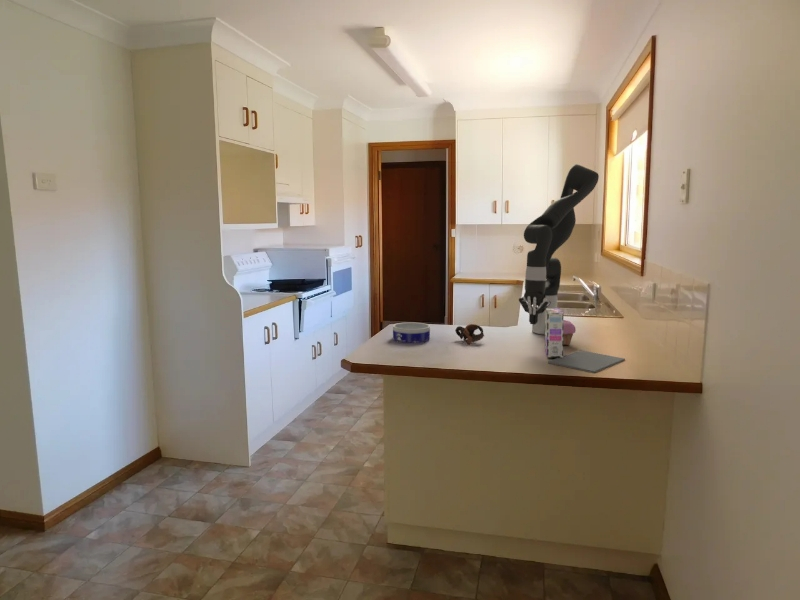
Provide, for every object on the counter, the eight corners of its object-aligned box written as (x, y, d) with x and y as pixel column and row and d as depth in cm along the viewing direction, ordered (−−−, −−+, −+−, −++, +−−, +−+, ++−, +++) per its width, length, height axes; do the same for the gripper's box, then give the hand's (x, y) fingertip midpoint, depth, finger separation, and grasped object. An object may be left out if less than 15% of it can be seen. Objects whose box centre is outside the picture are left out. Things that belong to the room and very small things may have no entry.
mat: (548, 363, 193) (548, 361, 192) (580, 351, 209) (580, 350, 209) (594, 372, 181) (594, 371, 181) (624, 360, 198) (624, 358, 198)
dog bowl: (386, 341, 224) (386, 326, 224) (403, 334, 238) (403, 320, 237) (419, 345, 217) (420, 330, 217) (435, 338, 231) (435, 324, 230)
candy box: (563, 358, 197) (563, 312, 195) (546, 357, 198) (546, 312, 196) (560, 350, 210) (560, 307, 208) (544, 350, 211) (544, 307, 210)
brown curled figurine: (483, 340, 229) (487, 326, 224) (477, 355, 222) (481, 340, 217) (456, 331, 232) (459, 316, 226) (449, 345, 224) (452, 330, 219)
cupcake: (568, 341, 226) (569, 318, 224) (578, 346, 217) (580, 322, 216) (547, 342, 224) (549, 318, 223) (557, 347, 216) (558, 322, 214)
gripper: (514, 277, 208) (512, 322, 211) (546, 280, 199) (543, 327, 201) (525, 276, 213) (523, 320, 216) (556, 279, 204) (554, 325, 207)
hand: (533, 323), depth 209 cm, fingers closed
